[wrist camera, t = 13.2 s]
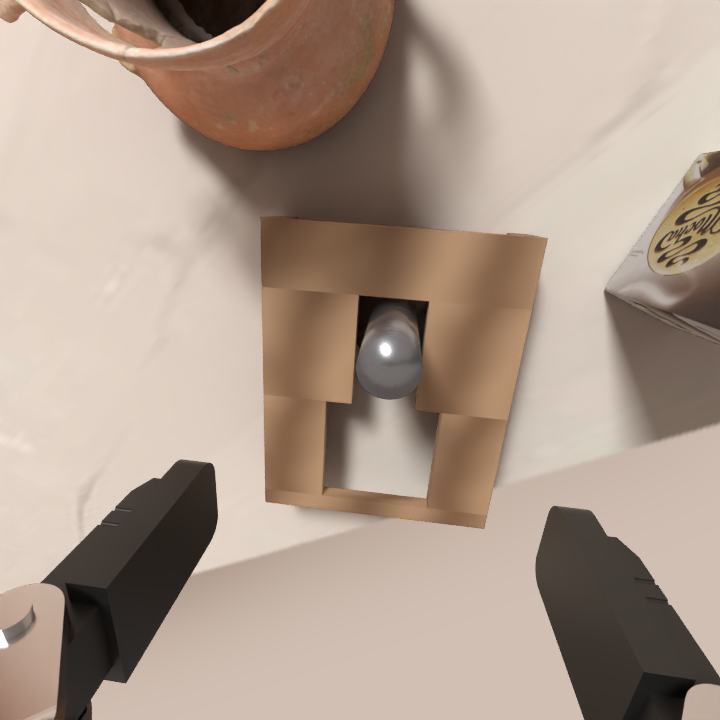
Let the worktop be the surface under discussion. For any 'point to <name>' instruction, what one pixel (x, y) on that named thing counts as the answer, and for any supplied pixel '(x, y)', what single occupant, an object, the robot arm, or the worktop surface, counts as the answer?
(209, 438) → the worktop surface
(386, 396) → the peg
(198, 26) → the ceramic jug
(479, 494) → the keyhole plate
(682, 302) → the coffee box
